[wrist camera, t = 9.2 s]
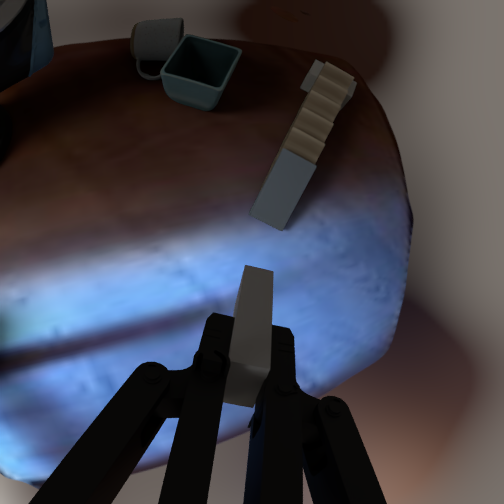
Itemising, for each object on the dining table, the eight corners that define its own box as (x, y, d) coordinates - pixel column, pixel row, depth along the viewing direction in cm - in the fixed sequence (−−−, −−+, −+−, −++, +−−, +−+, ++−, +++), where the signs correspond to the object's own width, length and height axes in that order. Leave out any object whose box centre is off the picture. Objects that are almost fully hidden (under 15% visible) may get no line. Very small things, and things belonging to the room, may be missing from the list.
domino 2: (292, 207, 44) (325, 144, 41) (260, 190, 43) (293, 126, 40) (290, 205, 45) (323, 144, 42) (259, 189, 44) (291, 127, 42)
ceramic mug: (138, 40, 44) (135, 11, 37) (183, 39, 46) (185, 10, 38) (128, 84, 43) (122, 54, 35) (178, 82, 45) (178, 52, 37)
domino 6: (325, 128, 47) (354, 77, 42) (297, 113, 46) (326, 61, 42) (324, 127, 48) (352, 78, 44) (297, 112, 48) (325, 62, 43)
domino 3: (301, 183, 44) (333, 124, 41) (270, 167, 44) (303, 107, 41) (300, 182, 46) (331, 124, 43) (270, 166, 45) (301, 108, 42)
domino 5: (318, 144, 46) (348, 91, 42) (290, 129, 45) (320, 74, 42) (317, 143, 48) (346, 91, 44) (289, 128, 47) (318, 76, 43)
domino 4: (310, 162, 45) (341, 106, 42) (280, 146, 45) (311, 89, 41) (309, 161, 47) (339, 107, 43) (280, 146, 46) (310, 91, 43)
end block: (340, 110, 50) (351, 97, 45) (299, 88, 49) (308, 72, 44) (345, 96, 50) (357, 82, 46) (306, 74, 49) (315, 59, 45)
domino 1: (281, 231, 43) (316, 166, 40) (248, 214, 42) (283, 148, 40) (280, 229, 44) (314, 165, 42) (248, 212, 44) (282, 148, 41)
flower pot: (233, 84, 46) (243, 48, 38) (214, 125, 45) (222, 91, 36) (183, 69, 45) (185, 32, 36) (161, 109, 43) (158, 73, 35)
